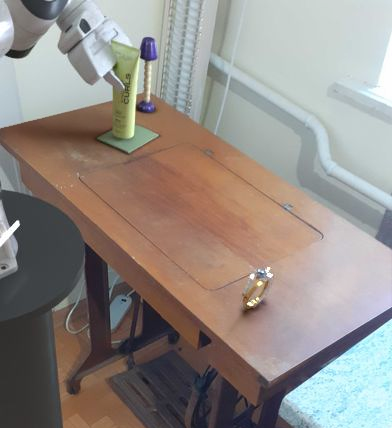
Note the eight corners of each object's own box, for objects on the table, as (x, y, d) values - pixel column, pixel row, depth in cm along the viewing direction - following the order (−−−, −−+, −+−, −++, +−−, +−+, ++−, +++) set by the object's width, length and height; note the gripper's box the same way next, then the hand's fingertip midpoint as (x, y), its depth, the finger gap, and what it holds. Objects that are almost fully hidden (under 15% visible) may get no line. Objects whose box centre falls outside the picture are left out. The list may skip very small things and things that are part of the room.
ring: (259, 293, 96) (270, 258, 91) (272, 303, 95) (284, 268, 89) (232, 308, 93) (240, 272, 87) (244, 319, 91) (254, 284, 86)
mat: (128, 153, 123) (128, 152, 122) (97, 139, 125) (97, 137, 125) (158, 135, 130) (158, 134, 130) (128, 122, 133) (128, 121, 132)
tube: (110, 139, 124) (113, 47, 110) (108, 128, 127) (111, 38, 113) (135, 140, 125) (140, 49, 111) (132, 130, 128) (138, 40, 114)
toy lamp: (152, 114, 137) (157, 43, 125) (134, 111, 137) (137, 40, 124) (155, 106, 140) (160, 36, 128) (137, 103, 140) (141, 33, 128)
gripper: (93, 20, 120) (132, 76, 127) (53, 50, 107) (100, 111, 113) (112, 2, 117) (152, 61, 123) (74, 30, 103) (121, 95, 109)
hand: (127, 85), depth 118 cm, fingers closed on tube, 4 cm apart
